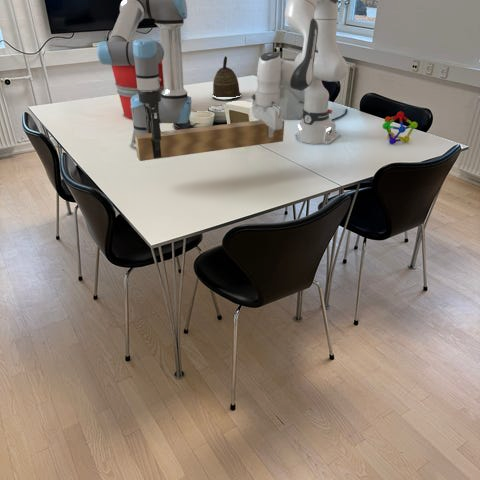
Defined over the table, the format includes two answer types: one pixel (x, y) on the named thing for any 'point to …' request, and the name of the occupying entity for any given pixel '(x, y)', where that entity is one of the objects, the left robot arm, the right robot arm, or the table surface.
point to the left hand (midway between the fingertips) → (155, 154)
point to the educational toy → (398, 128)
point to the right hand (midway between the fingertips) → (266, 134)
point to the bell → (225, 82)
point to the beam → (207, 139)
